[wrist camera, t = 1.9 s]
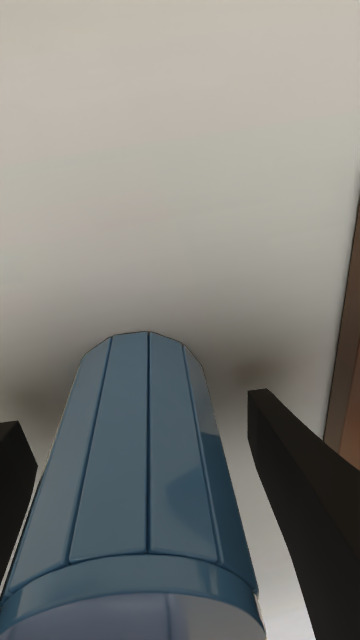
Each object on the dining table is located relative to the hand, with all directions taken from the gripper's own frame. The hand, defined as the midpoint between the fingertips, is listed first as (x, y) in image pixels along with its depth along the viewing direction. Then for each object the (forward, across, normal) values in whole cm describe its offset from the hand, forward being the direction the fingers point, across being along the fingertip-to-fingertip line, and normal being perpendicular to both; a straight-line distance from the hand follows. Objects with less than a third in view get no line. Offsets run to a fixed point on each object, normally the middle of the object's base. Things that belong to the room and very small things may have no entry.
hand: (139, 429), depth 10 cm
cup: (+2, 0, 0) cm, 2 cm away
